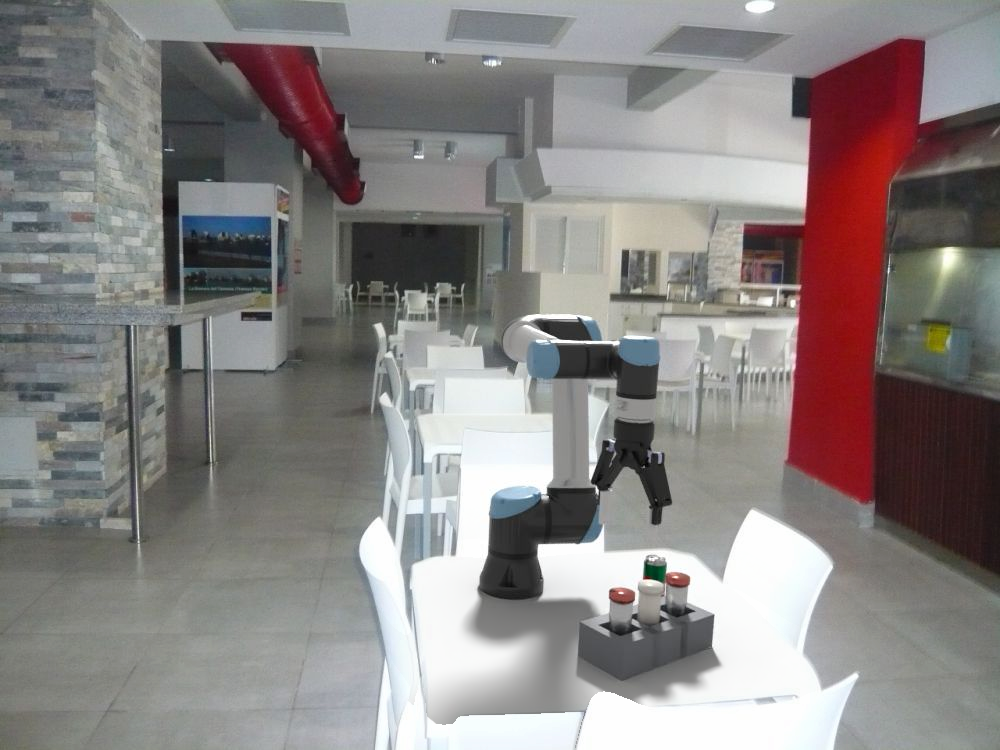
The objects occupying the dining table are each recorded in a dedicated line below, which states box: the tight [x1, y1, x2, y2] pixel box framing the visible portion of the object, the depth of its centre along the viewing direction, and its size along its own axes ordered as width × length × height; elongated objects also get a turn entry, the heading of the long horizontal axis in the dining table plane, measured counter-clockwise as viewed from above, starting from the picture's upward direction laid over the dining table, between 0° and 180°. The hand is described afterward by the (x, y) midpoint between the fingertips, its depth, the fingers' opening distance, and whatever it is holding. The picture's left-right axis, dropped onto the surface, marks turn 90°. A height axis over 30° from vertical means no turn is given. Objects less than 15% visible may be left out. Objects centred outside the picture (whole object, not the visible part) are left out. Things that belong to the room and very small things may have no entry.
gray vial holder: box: [577, 596, 715, 681], centre depth 174 cm, size 26×12×7 cm, turn 128°
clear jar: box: [664, 571, 691, 618], centre depth 179 cm, size 5×5×9 cm
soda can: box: [642, 554, 668, 597], centre depth 195 cm, size 5×5×12 cm
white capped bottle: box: [637, 579, 664, 627], centre depth 174 cm, size 5×5×9 cm
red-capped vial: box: [608, 587, 636, 636], centre depth 169 cm, size 5×5×9 cm
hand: (627, 531), depth 167 cm, fingers open, 11 cm apart
